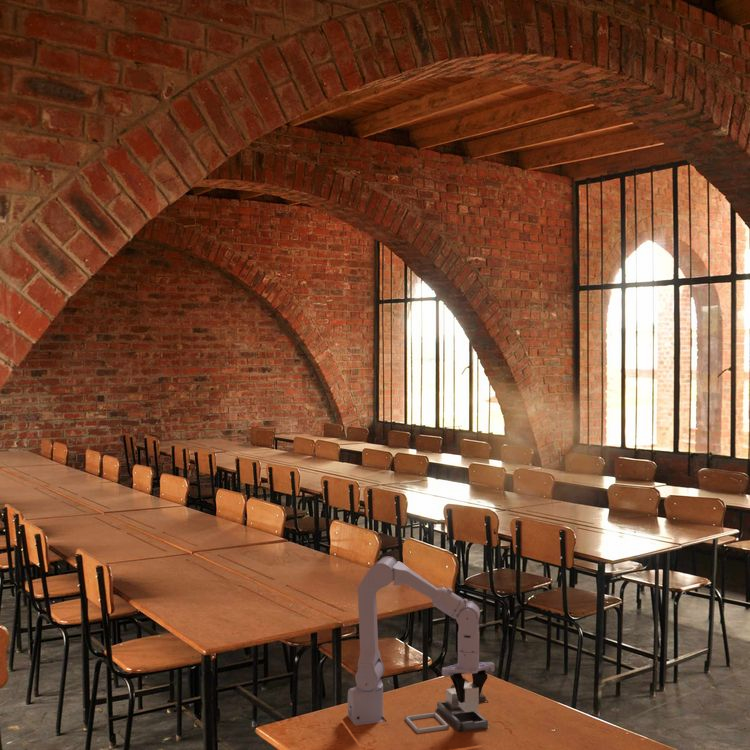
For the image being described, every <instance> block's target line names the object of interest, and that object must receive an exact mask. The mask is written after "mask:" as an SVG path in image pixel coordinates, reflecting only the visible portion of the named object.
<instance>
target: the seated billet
mask: <svg viewBox="0 0 750 750" xmlns="http://www.w3.org/2000/svg"><path fill="white" fill-rule="evenodd" d="M445 691H446V692H445V699H446V700H445V701H446V708H447V709H448V710H449V711H450V712H452V711H459V710H462V709H461V708H460V707H459V701H458V698H457V693H456V690H455V688H451V687H450V688H446V690H445Z"/></svg>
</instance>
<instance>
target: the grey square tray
mask: <svg viewBox="0 0 750 750" xmlns="http://www.w3.org/2000/svg"><path fill="white" fill-rule="evenodd" d="M427 718H435V719H437V721H438V722H439V723H440V724H441V725H435V726H429V727H422V728H418V727H417V725H416V724H415V723H414V722H413V721H412V720H420V719H427ZM404 721H405V722H406V724H408V725H409V726H410V727H411V729H412V730H413V731H414V732H415V733H416V734H421V733H422V734H423V733H431V732H435V731H444V730H449V729H450V724H449V723H447V721H446V720H445V719H444V718H442V716H441V715H440V714H439V713H438V712H437V711H434V712H431V713H430V712H428V713H423V714H422V713H420V714H415V715H414V714H413V715H406V716H404Z"/></svg>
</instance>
